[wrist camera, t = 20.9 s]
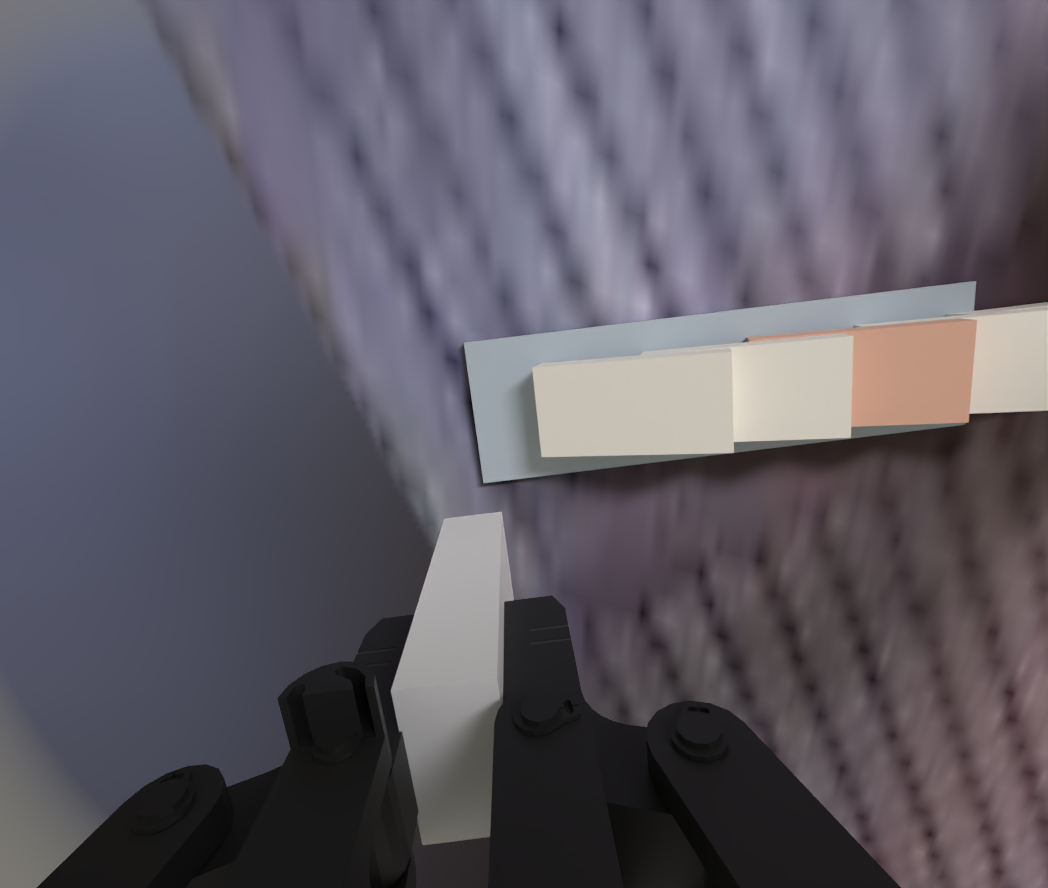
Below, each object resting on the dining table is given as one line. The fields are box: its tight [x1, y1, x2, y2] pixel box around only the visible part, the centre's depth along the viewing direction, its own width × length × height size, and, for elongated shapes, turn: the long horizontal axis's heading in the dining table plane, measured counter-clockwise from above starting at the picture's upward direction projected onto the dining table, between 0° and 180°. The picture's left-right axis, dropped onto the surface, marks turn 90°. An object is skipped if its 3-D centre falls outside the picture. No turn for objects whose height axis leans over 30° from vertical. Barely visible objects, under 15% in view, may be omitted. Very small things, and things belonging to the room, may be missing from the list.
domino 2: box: [747, 318, 977, 427], centre depth 34 cm, size 2×6×12 cm
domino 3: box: [855, 307, 1048, 414], centre depth 34 cm, size 2×6×12 cm
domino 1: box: [641, 333, 853, 442], centre depth 34 cm, size 2×6×12 cm
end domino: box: [532, 348, 734, 457], centre depth 34 cm, size 2×6×12 cm
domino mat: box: [464, 281, 976, 483], centre depth 38 cm, size 35×10×1 cm, turn 97°
